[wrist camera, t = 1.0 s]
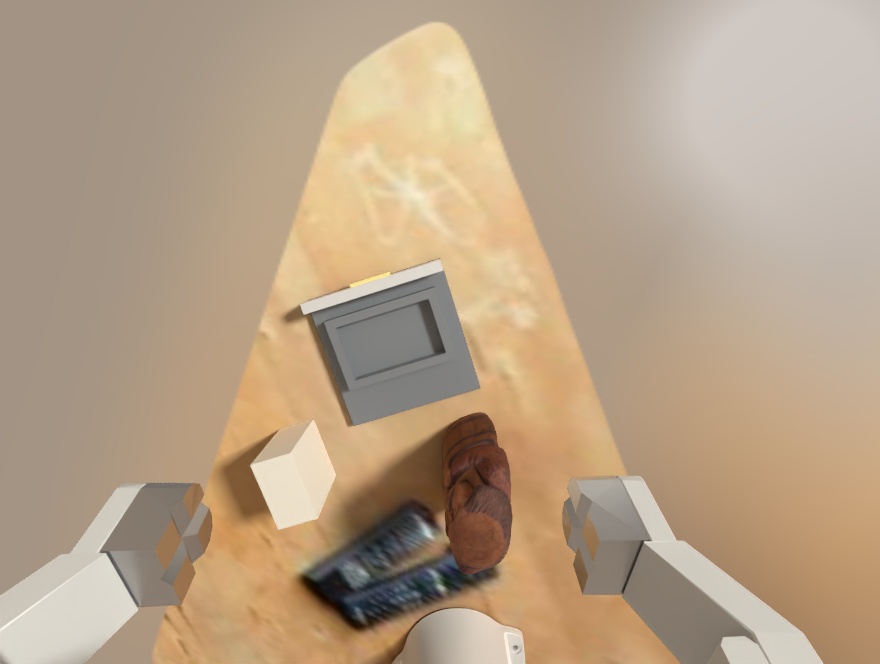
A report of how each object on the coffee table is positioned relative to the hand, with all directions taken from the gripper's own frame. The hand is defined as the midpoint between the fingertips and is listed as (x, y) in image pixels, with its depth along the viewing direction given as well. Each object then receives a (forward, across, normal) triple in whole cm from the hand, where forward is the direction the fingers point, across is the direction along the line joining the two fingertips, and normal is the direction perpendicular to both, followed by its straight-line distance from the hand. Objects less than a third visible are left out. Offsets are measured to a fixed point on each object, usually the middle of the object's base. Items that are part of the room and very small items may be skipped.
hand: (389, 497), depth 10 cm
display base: (+39, -2, -20) cm, 44 cm away
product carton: (+35, -14, -34) cm, 51 cm away
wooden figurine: (+34, +6, -34) cm, 49 cm away
